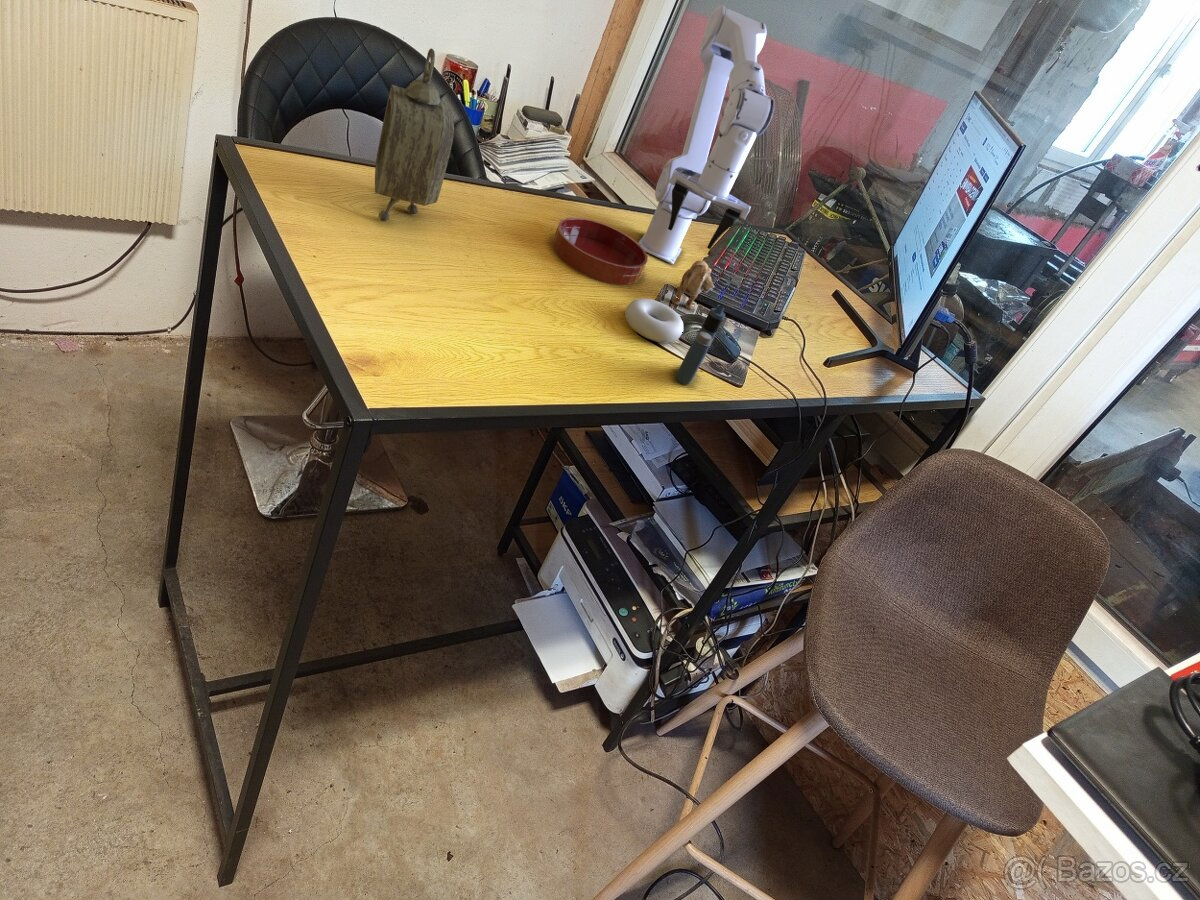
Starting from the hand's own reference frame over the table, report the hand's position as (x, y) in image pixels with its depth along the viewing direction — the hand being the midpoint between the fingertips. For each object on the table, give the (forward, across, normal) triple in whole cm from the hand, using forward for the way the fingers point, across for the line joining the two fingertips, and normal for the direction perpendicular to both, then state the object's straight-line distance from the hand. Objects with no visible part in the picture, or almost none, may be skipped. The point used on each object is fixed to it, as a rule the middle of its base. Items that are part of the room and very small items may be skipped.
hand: (689, 237), depth 138 cm
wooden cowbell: (+10, -44, -22) cm, 50 cm away
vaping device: (+10, +9, -31) cm, 34 cm away
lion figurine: (+10, +4, -4) cm, 11 cm away
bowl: (+9, -14, -4) cm, 17 cm away
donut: (+10, +1, -21) cm, 23 cm away
